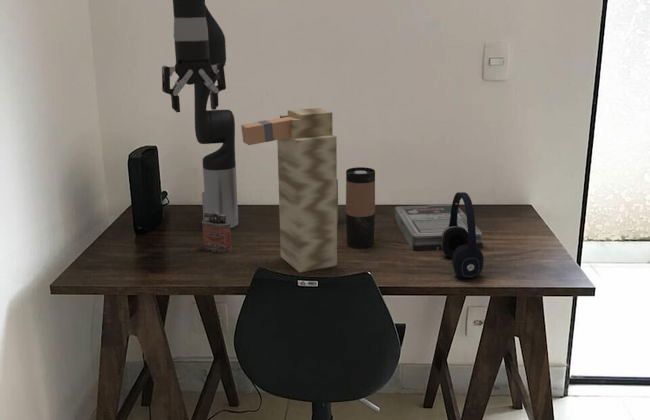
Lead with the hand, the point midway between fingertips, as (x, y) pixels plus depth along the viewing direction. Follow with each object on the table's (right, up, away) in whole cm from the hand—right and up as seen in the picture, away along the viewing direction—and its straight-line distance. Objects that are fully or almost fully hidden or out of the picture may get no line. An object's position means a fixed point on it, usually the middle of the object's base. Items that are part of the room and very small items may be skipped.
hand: (195, 110), depth 163 cm
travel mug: (+39, -32, +25) cm, 56 cm away
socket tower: (+26, -36, +13) cm, 46 cm away
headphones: (+63, -37, +8) cm, 73 cm away
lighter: (+2, -33, +22) cm, 40 cm away
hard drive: (+60, -30, +33) cm, 75 cm away
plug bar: (+18, -6, 0) cm, 19 cm away
